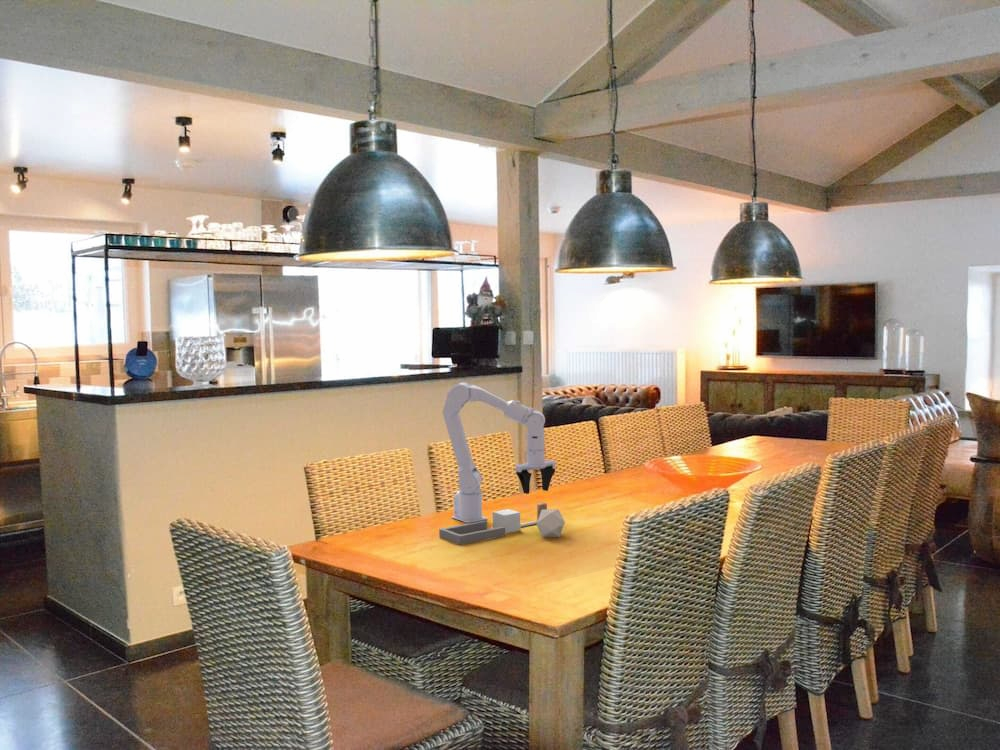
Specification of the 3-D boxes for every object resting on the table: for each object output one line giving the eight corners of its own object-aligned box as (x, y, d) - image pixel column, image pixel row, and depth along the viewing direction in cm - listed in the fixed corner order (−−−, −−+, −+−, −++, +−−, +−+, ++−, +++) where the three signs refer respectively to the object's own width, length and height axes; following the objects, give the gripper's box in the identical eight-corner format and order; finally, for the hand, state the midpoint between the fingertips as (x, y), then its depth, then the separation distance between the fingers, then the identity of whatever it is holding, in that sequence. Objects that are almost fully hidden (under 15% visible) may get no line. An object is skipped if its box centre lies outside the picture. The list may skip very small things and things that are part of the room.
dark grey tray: (439, 537, 259) (439, 528, 258) (484, 528, 268) (484, 520, 268) (459, 544, 250) (459, 536, 250) (505, 535, 259) (505, 527, 259)
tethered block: (492, 529, 267) (492, 510, 266) (539, 520, 278) (539, 501, 277) (504, 533, 262) (504, 513, 262) (551, 523, 273) (551, 504, 273)
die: (556, 543, 252) (572, 514, 255) (530, 528, 254) (546, 499, 256) (554, 546, 260) (570, 518, 263) (529, 531, 261) (545, 503, 264)
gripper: (524, 453, 268) (525, 496, 269) (561, 448, 277) (561, 491, 278) (511, 450, 274) (511, 493, 275) (547, 446, 282) (547, 487, 283)
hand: (535, 491), depth 277 cm, fingers open, 7 cm apart
